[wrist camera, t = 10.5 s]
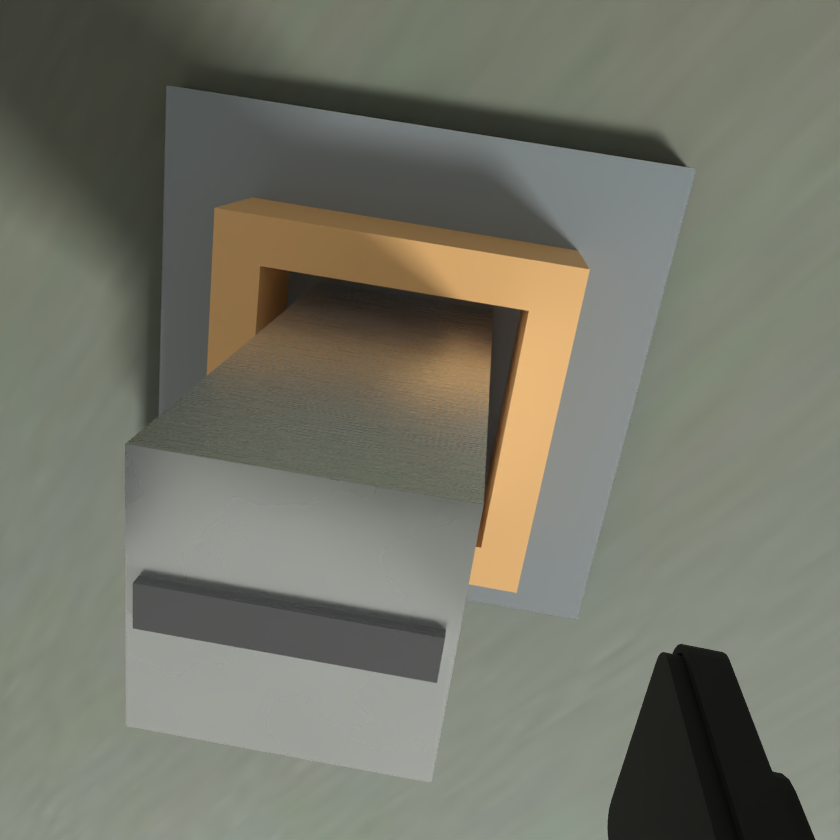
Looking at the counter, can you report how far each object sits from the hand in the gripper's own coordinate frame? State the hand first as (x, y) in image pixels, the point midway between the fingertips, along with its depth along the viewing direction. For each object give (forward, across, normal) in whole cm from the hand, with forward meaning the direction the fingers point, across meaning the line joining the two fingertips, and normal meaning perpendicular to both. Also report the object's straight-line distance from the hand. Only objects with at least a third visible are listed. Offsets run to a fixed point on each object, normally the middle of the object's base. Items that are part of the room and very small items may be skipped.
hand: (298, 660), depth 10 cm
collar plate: (+14, +1, 0) cm, 14 cm away
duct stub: (+13, +1, 0) cm, 13 cm away
